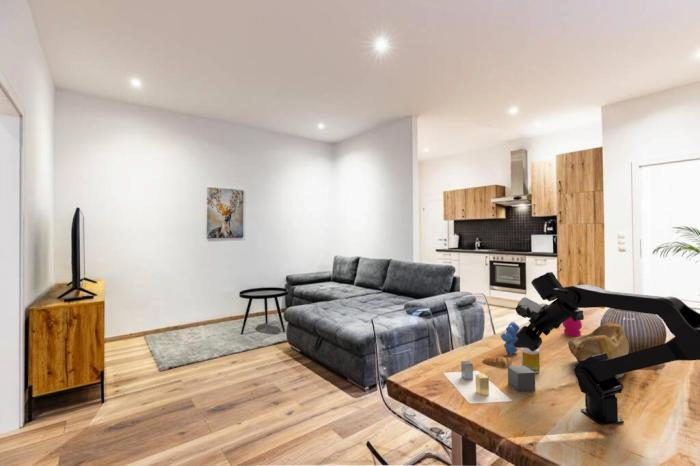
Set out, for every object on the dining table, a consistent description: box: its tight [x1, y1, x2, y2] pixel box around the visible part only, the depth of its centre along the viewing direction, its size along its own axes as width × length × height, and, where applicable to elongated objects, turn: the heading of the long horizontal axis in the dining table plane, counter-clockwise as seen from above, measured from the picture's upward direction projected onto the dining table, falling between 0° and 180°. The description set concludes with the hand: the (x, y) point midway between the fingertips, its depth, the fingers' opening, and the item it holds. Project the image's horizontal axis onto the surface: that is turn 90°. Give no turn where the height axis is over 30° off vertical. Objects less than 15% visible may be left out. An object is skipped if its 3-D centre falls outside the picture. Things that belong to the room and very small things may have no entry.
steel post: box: [460, 360, 474, 380], centre depth 106 cm, size 3×3×5 cm
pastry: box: [482, 356, 512, 369], centre depth 118 cm, size 9×7×4 cm
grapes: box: [500, 321, 521, 356], centre depth 130 cm, size 12×7×12 cm, turn 136°
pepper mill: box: [562, 318, 583, 337], centre depth 151 cm, size 7×7×20 cm
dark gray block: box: [507, 365, 536, 393], centre depth 99 cm, size 5×5×7 cm
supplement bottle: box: [521, 348, 541, 374], centre depth 114 cm, size 5×5×10 cm
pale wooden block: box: [476, 373, 490, 396], centre depth 96 cm, size 3×3×5 cm
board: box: [443, 370, 513, 405], centre depth 101 cm, size 20×12×1 cm, turn 5°
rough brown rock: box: [567, 321, 630, 379], centre depth 115 cm, size 23×17×15 cm
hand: (520, 338), depth 107 cm, fingers open, 9 cm apart
